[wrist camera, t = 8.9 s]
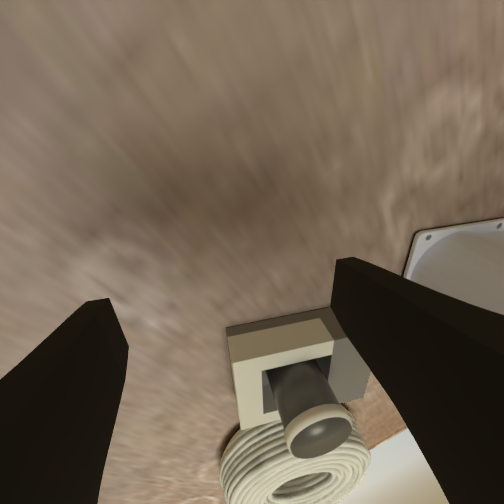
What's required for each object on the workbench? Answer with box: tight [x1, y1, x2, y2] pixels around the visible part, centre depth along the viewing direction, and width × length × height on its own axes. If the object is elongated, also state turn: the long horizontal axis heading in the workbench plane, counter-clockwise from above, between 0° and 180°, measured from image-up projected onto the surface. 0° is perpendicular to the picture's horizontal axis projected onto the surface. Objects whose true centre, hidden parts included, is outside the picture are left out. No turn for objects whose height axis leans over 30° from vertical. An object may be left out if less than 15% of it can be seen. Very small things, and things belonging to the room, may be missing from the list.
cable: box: [219, 404, 371, 504], centre depth 31 cm, size 18×18×6 cm
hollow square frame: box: [226, 307, 371, 430], centre depth 23 cm, size 12×9×4 cm
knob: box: [265, 359, 352, 459], centre depth 21 cm, size 5×5×7 cm
